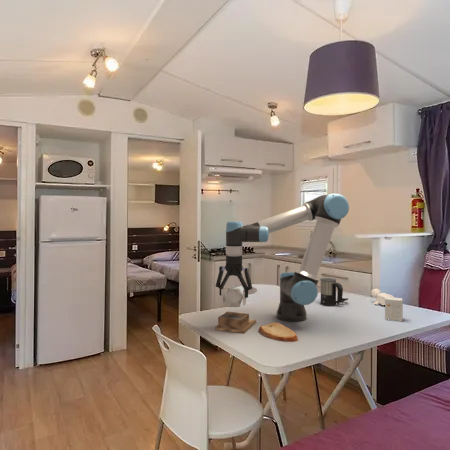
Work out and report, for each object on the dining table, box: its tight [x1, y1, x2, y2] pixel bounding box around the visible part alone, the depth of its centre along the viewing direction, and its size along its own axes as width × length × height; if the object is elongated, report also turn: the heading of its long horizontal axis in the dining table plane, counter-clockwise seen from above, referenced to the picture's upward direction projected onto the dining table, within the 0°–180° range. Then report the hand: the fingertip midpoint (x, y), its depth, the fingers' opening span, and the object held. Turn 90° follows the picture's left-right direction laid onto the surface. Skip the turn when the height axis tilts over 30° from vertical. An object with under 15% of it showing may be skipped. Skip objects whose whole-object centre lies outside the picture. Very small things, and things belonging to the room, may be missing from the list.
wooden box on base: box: [214, 311, 257, 334], centre depth 175 cm, size 14×18×6 cm
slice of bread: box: [258, 321, 299, 343], centre depth 163 cm, size 18×18×4 cm
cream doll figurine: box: [370, 288, 395, 306], centre depth 216 cm, size 9×8×15 cm
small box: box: [384, 297, 404, 322], centre depth 186 cm, size 8×6×10 cm
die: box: [224, 287, 243, 308], centre depth 171 cm, size 8×9×10 cm
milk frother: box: [319, 277, 349, 307], centre depth 218 cm, size 14×16×15 cm
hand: (233, 303), depth 171 cm, fingers closed on die, 10 cm apart
